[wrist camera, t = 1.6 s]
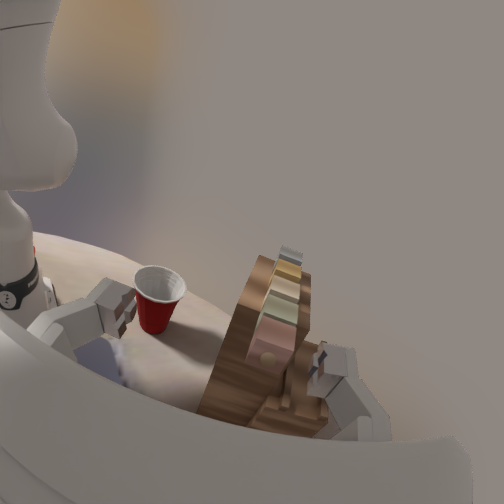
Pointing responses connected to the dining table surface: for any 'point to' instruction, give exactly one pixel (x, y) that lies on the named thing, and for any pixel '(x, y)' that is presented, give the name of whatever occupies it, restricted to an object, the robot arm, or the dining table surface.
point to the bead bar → (278, 315)
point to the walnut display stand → (261, 381)
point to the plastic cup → (157, 296)
